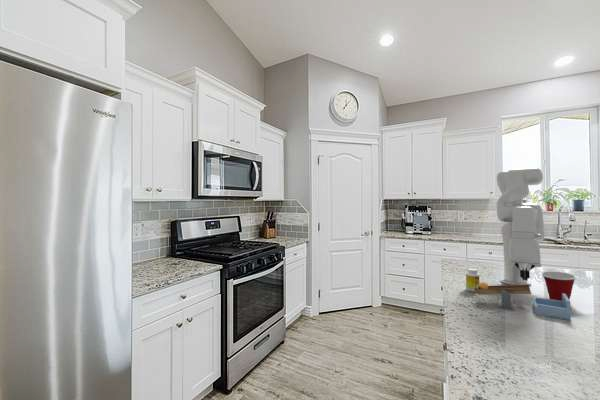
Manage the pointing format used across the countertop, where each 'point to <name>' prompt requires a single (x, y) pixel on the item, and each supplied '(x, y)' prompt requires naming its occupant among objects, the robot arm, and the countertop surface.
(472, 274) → the supplement bottle
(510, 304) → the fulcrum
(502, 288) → the lever
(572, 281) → the plastic cup
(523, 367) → the countertop surface
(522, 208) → the robot arm
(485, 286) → the ball
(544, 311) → the blue tray
